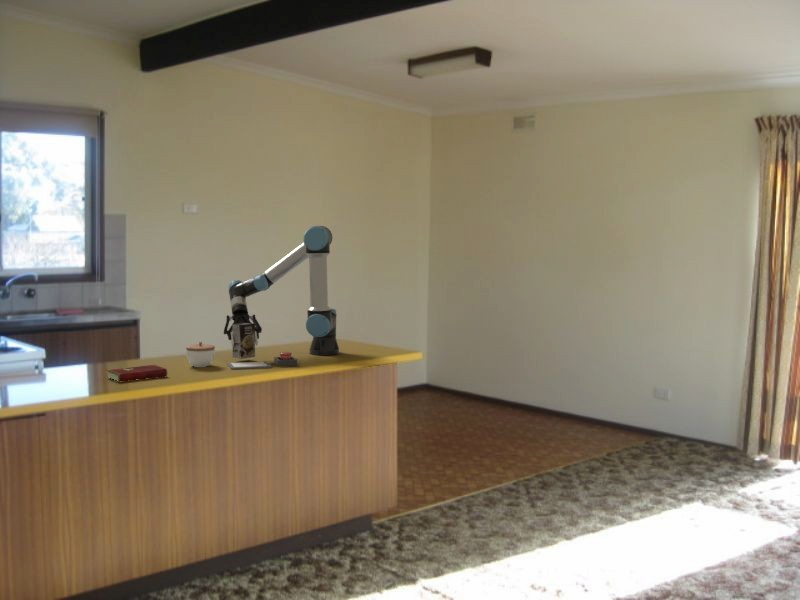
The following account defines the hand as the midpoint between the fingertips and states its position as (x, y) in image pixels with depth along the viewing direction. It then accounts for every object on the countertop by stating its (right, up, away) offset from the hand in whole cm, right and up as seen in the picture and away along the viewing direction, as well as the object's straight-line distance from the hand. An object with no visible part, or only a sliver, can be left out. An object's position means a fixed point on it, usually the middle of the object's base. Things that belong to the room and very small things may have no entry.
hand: (244, 344), depth 374 cm
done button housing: (+20, -9, -4) cm, 22 cm away
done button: (+20, -7, -4) cm, 21 cm away
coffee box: (-1, -7, +3) cm, 7 cm away
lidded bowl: (-18, -9, -11) cm, 23 cm away
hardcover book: (-37, -12, -40) cm, 56 cm away
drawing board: (+4, -10, -10) cm, 14 cm away
